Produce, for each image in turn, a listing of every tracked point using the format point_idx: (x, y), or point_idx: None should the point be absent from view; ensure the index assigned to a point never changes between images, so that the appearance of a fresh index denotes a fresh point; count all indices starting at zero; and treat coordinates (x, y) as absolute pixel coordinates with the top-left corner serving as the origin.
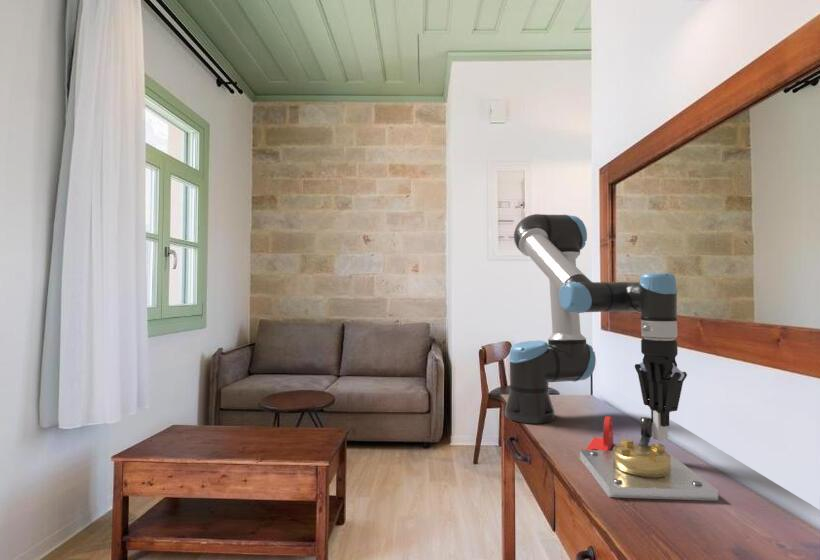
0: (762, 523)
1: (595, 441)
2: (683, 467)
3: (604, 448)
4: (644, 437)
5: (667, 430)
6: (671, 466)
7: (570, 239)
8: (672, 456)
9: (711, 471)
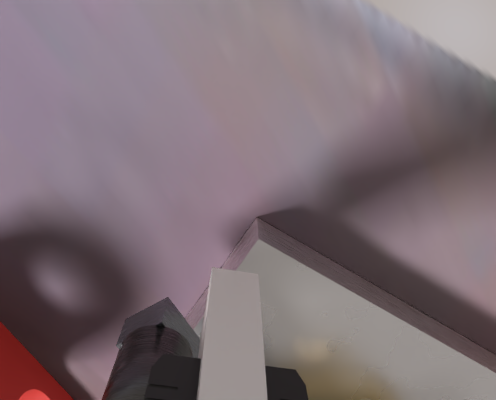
0: None
1: None
2: (426, 358)
3: (29, 398)
4: None
5: (260, 312)
6: (386, 389)
7: None
8: (315, 277)
9: (465, 157)
